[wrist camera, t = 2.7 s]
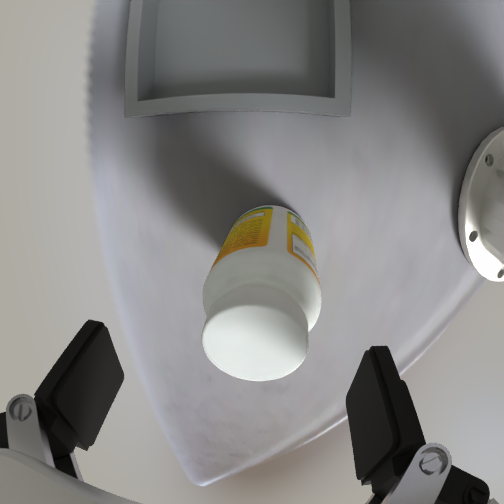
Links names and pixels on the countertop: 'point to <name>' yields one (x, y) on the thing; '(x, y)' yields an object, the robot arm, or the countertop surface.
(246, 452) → the countertop surface
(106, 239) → the countertop surface
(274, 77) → the tray
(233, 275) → the supplement bottle
